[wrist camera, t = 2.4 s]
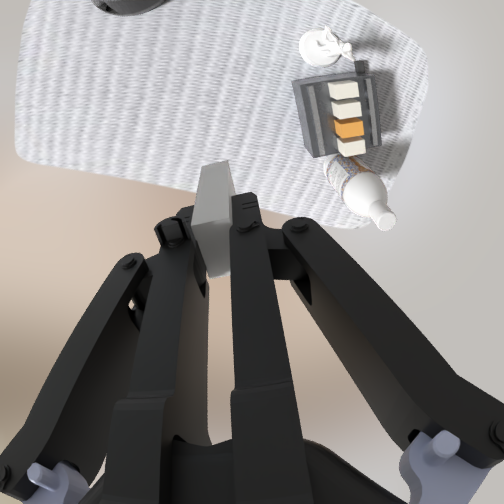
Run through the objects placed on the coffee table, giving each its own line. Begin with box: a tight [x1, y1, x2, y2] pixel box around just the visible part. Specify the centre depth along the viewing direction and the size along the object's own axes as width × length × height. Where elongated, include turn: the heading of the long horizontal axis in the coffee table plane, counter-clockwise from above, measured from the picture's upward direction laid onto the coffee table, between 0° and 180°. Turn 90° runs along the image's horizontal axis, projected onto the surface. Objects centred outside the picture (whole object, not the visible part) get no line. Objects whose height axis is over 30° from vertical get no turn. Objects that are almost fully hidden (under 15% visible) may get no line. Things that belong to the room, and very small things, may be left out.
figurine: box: [299, 26, 355, 68], centre depth 36 cm, size 7×7×12 cm
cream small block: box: [337, 136, 366, 157], centre depth 44 cm, size 2×4×3 cm, turn 104°
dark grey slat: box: [354, 61, 370, 148], centre depth 46 cm, size 16×1×1 cm, turn 14°
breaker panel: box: [292, 72, 382, 158], centre depth 44 cm, size 12×12×7 cm
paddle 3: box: [334, 117, 364, 138], centre depth 42 cm, size 2×4×3 cm, turn 103°
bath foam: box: [323, 153, 396, 231], centre depth 46 cm, size 7×7×20 cm
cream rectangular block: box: [328, 80, 359, 100], centre depth 38 cm, size 2×4×3 cm, turn 103°
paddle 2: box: [331, 98, 362, 119], centre depth 40 cm, size 2×4×3 cm, turn 103°
